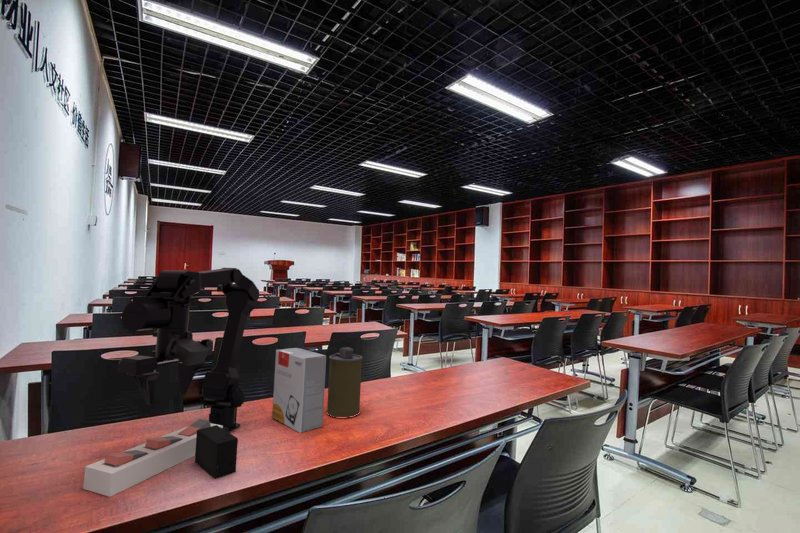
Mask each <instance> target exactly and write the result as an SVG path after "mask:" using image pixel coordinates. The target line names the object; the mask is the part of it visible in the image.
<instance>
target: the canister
mask: <svg viewBox="0 0 800 533" xmlns="http://www.w3.org/2000/svg"><path fill="white" fill-rule="evenodd" d="M328 358H329V365H328V368H329V369H328V385H327V386H328V387H327V404H326V405H327V406H326V407H327V408H326V412H328V414H329V415H331V416H334V417H350V416H354V415H356V414H358V413H359V410H360V409H361V408H360V406H361V387H362V385H361V384H362V383H361V382H362V366H363V365H362V363H363V361H362V360H363V358H364V357H363V356H362V355H360V354H355V353H354V349H353V348H352V347H349V346H348V347H346V346H345V347H339V351H338V352H334V353H333V354H331V355H329V356H328Z"/></svg>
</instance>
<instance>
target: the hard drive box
mask: <svg viewBox="0 0 800 533" xmlns="http://www.w3.org/2000/svg"><path fill="white" fill-rule="evenodd" d="M274 359H275V362H274V379H273V396H272V410H271V412H272V413H271V418H272V417H273V418H272V419H274V420H276V421H277V420H278V421H279V423H281V424H282V425H285V426H287V427H289V428H290V429H291V428H292V430H293V431H295V432H297V433H299V434H302V433H305V431H306V432H308V431H312V430H315V428H316V429H319V428H322V427H323V426H324V409H325V408H324V405H325V387H326V385H325V384H326V369H327V367H326V365H327V355H325V354H322V353H318V352H315V351H311V350H307V349H304V348H299V347H293V348H292V347H291V348H290V347H289V348H283V349H275V358H274ZM278 421H277V422H278Z"/></svg>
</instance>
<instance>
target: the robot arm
mask: <svg viewBox="0 0 800 533" xmlns="http://www.w3.org/2000/svg"><path fill="white" fill-rule="evenodd" d="M215 286H216V287H217V286H220V292H221V293H222V294H223V295H224V296H225V301H224V304H225V307H226V310H227V312H228V313H227V314H228V315H227V317H226V318H227V319H226V323H225V327H224V331H223V336H222V340H221V344H220V348H219V351H218V356H217V361H216V365H215V366H214V368H213V369H212V370H211V371H206V372H205V373H204V380H203V383H202V385H201V394H202V395H201V396H202V398H203V403H204V406H205V407H210V412H209V414H208V421H210V423H212V424H217V425H222V426H223V428H224V427H228V429H229V430H230V432H231V431H233V430H235V429H237V428H240V427H241V423H237V413H238V412H237V411H238V408H241V407H242V405H243V404H244V403H245V398H246V395H245V393H244V392H243V390H242V389H241V388H240V376H239V372H238V370H237V364H238V360H239V354H240V351H241V347H242V343H243V337H244V334H245V329H246V328H245V327H246V325H247V324H246V323H247V319H248V316H249V315H250V313H252V312H253V311H254V310H255V308H256V306H257V303H258V299H259V298H260V290H259V288H258V287H257V286H256V284H255V282H254V281H253V280H251V279H250V278H248V277H247V276H245V275H244V274H243V273H242V271H241V270H240V269H239V268H236V267H222V268H219V269H210V270H202V271H201V270H200V271H193V270H176V269H175V270H173V269H172V270H171V269H170V270H169V269H165V270H161V271H160V272H159V274H158V276H157V277H156V279H155V280H154V282H153V283H152V284H151V286H150V287H149V288H148V290H147V291H146V293H145V294H144V295H143V296H141V295H133V296H132V300H131V301H132V302H130V303H128V304H127V305H126V306H125V307H124V309H123V311H122V312H121V316H120V317H121V323H122V325H123V327H124V328H125V329H126V330H127V331H130V332H140V331H150V330H156V331H153V332H152V337H154V338H156V343H155V350H151V351H150V356H147V355H140V354H139V355H132V356H125V357H122V358H121V359H120V360H119V362H118V363H117V364H118V365H117V373H121V374H126V375H127V376H132V377H131V378H133V380H134V382H135V383H136V385H137V386H138V388H139V390H140V393H141V394H142V397H143V400H144V401H145V404H146V405H148V406H152V405H153V401H154V397H155V388H156V380H157V378H158V377H159V376H160V375H161V372H159V371H156V370H157V369H158V367H160V366H166V365H172V364H177V373H178V388H179V394H180V396H182V397H185V396H186V394H187V392H188V390H189V388H190V386H191V384H192V381H193V379H194V378H195V375H196V374H197V372H198V370H200V369H201V368H203V367H205V366H206V365H207V362H211V361H212V362H213V361H214V351H213V350H214V341H213V340H211V339H210V338H206V339H201V341H200V340H196V341H195V340H194V339H193V337H194V334H193V332H192V331H189V330H188V329H189V320H190V318H189V317H190V307H196V306H197V302H196V301H195V300H194V299H193V298H192V296H194V295H196V294H197V293H200V292H201V290H202V289H204V288H210V287H215Z"/></svg>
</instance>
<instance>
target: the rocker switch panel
mask: <svg viewBox="0 0 800 533" xmlns="http://www.w3.org/2000/svg"><path fill="white" fill-rule="evenodd" d="M215 425H217V424H212V423H210V427H211V426H215ZM217 426H219V427H221V428H223V426H222V425H217ZM187 427H188V426H185V427H183V428H181V429H178V430H175V431H173V432H170V433H167V434H165V435H162V436H161V437H167V436H174V437H178V438H182V440H180V441H178V442H176V443H173V444H171V445H168V446H166V447H164V448H158V449H155V448H151V447H147V446H145V445H146V442H145V443H142V444H139V445H137V446H134V447H132V448H129V449H126V450H124V451H123V452H126V451H133V450H138V451H142V452H147V453H148V454H147V455H145V456H142V457H140V458H138V459H135V460H133V461H131V462H128V463H126V464H122V465H112V464H108V463H105V462H104V461H105V458H104V459H101V460H98V461H96V462H93V463H90V464H87V465H86V466H84V477H83V478H84V479H83V485H82V486H83V488H82V489H83V490H87V491H89V492H93V493H95V494H98V495H103V496H105V497H108V498H111V497H112V496H115V495H117V494H118V493H121V492H123V491H125V490H127V489H129V488H131V487H133V486H136V485H137V484H140V483H142V482H143V481H145V480H148V479H149V478H150V479H151V477H154V476H155V475H158V474H160V473H162V472H164V471H167V470H168V469H170V468H172V467H174V466H176V465H178V464H181V463H183V462H185V461H186V460H189V459H191V458H193V457H195V451H196V436H197V434H195V435H192V436H190V437H188V436H183V435H178V433H179V432H181V431H182V430H184V429H185V428H187Z"/></svg>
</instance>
